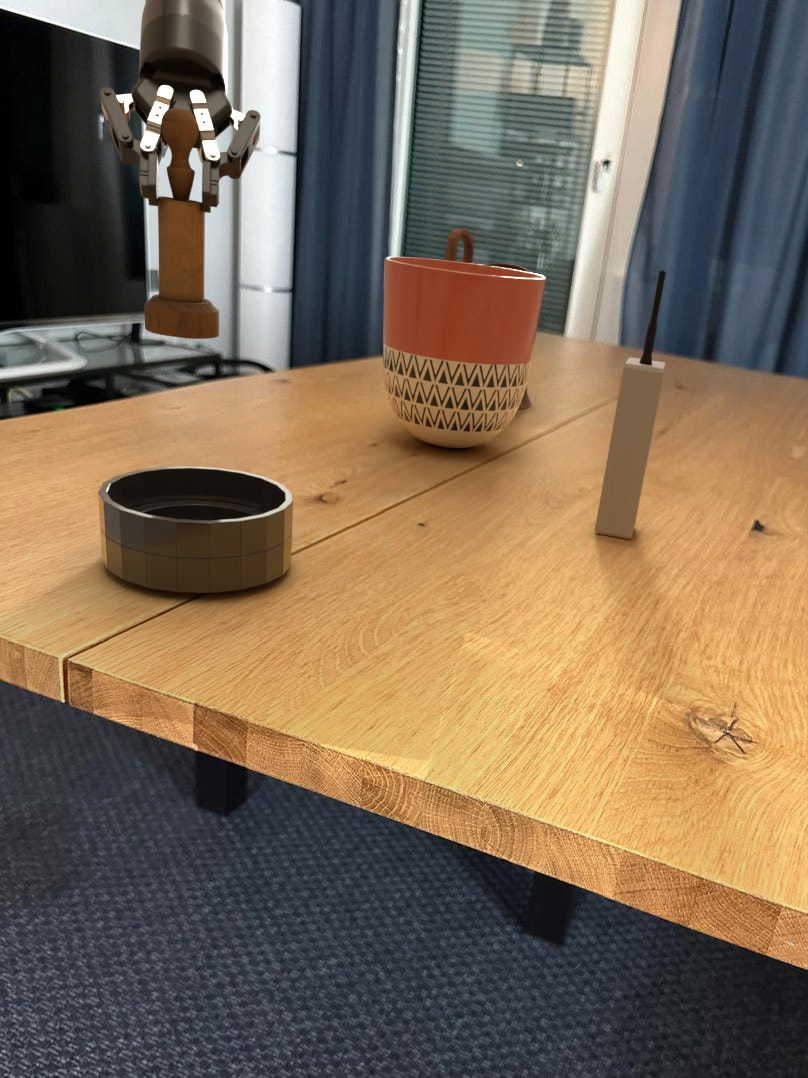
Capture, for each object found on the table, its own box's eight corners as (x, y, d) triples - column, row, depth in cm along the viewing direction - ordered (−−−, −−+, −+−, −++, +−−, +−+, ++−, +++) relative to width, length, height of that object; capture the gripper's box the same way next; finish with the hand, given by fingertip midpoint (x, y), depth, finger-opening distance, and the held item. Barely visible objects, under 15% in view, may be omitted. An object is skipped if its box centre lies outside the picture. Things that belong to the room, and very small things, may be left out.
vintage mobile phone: (634, 526, 97) (684, 271, 86) (630, 540, 92) (683, 273, 82) (599, 520, 97) (644, 266, 87) (593, 533, 93) (641, 267, 82)
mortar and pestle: (212, 342, 82) (211, 111, 75) (136, 333, 81) (128, 99, 74) (224, 331, 88) (225, 117, 80) (154, 323, 87) (148, 106, 80)
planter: (475, 473, 108) (497, 278, 99) (342, 438, 116) (351, 255, 107) (547, 448, 124) (572, 278, 115) (426, 419, 132) (440, 258, 123)
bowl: (68, 583, 68) (62, 504, 65) (151, 525, 80) (148, 457, 78) (258, 612, 67) (259, 533, 64) (310, 548, 80) (313, 481, 77)
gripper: (94, -5, 78) (83, 154, 73) (266, 26, 82) (267, 179, 77) (105, 73, 85) (95, 224, 80) (263, 98, 89) (264, 243, 84)
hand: (179, 201), depth 78 cm, fingers closed on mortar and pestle, 3 cm apart
